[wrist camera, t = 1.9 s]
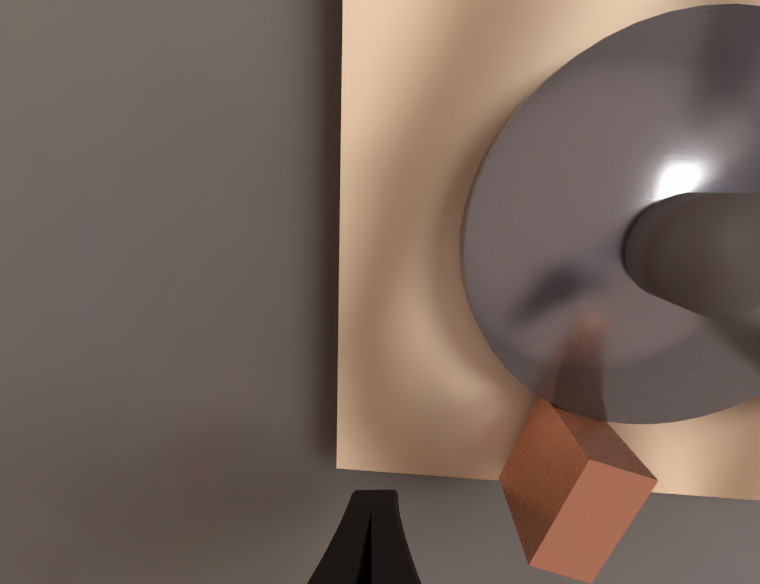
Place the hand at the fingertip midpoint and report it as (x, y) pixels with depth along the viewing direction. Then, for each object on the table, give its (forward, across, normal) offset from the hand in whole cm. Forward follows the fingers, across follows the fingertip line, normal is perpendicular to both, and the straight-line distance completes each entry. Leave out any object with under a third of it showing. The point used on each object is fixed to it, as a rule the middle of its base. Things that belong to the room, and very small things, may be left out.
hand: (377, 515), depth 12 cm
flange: (+3, -8, -6) cm, 11 cm away
